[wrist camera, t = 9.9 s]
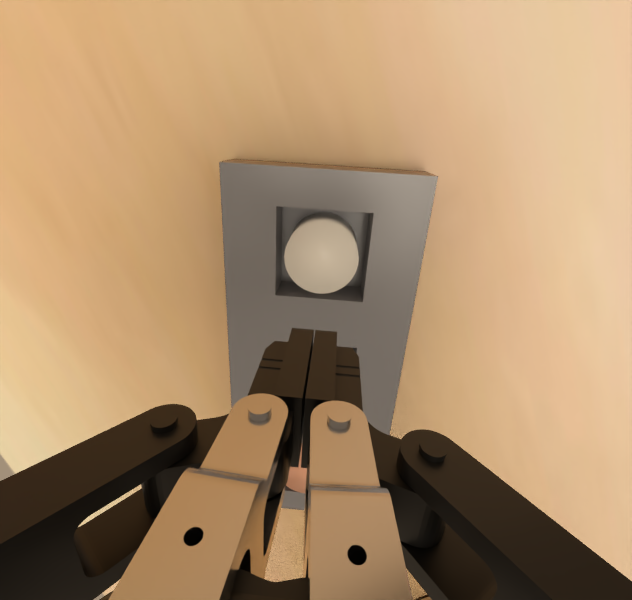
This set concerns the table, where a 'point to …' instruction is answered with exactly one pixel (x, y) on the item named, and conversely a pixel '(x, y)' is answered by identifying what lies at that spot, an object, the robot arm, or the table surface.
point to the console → (330, 308)
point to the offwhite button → (322, 253)
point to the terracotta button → (297, 477)
